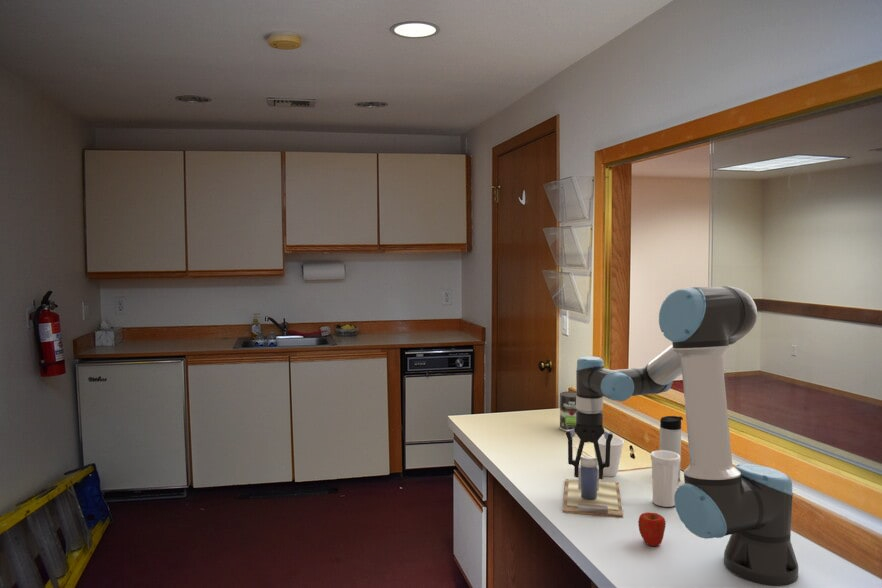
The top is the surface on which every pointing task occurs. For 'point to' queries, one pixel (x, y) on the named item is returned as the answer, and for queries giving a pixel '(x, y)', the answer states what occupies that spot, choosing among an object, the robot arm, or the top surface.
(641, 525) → the apple
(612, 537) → the top surface
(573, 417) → the coffee can
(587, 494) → the blue bottle
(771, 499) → the robot arm
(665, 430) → the travel mug
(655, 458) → the cup
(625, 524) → the top surface
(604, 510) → the clipboard
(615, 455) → the cup
